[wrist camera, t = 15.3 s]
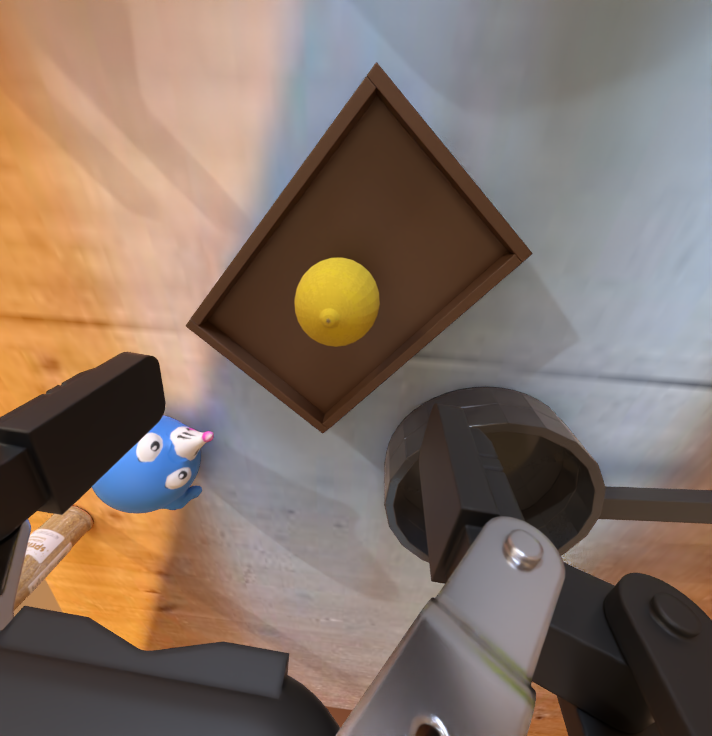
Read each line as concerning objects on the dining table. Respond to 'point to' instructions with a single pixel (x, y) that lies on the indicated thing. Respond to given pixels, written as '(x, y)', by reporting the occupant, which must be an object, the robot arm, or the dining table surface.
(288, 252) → the tray
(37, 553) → the sprinkles bottle
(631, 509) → the pan handle
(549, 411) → the pan
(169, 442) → the blue mole toy
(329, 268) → the lemon
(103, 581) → the dining table surface
